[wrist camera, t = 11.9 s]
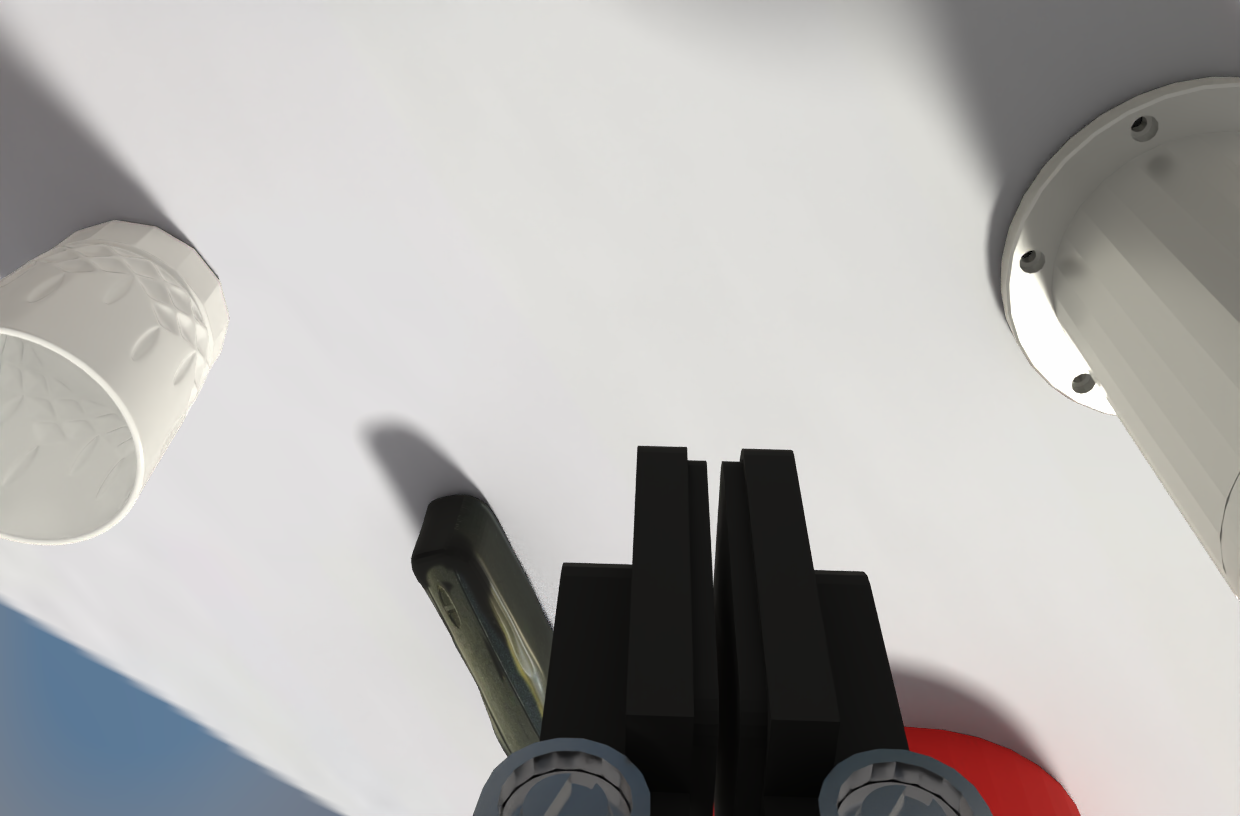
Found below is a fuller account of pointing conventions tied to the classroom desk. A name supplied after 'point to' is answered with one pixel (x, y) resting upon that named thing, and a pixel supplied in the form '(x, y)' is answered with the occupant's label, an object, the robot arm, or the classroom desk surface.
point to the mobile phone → (487, 613)
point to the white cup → (98, 374)
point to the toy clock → (995, 773)
